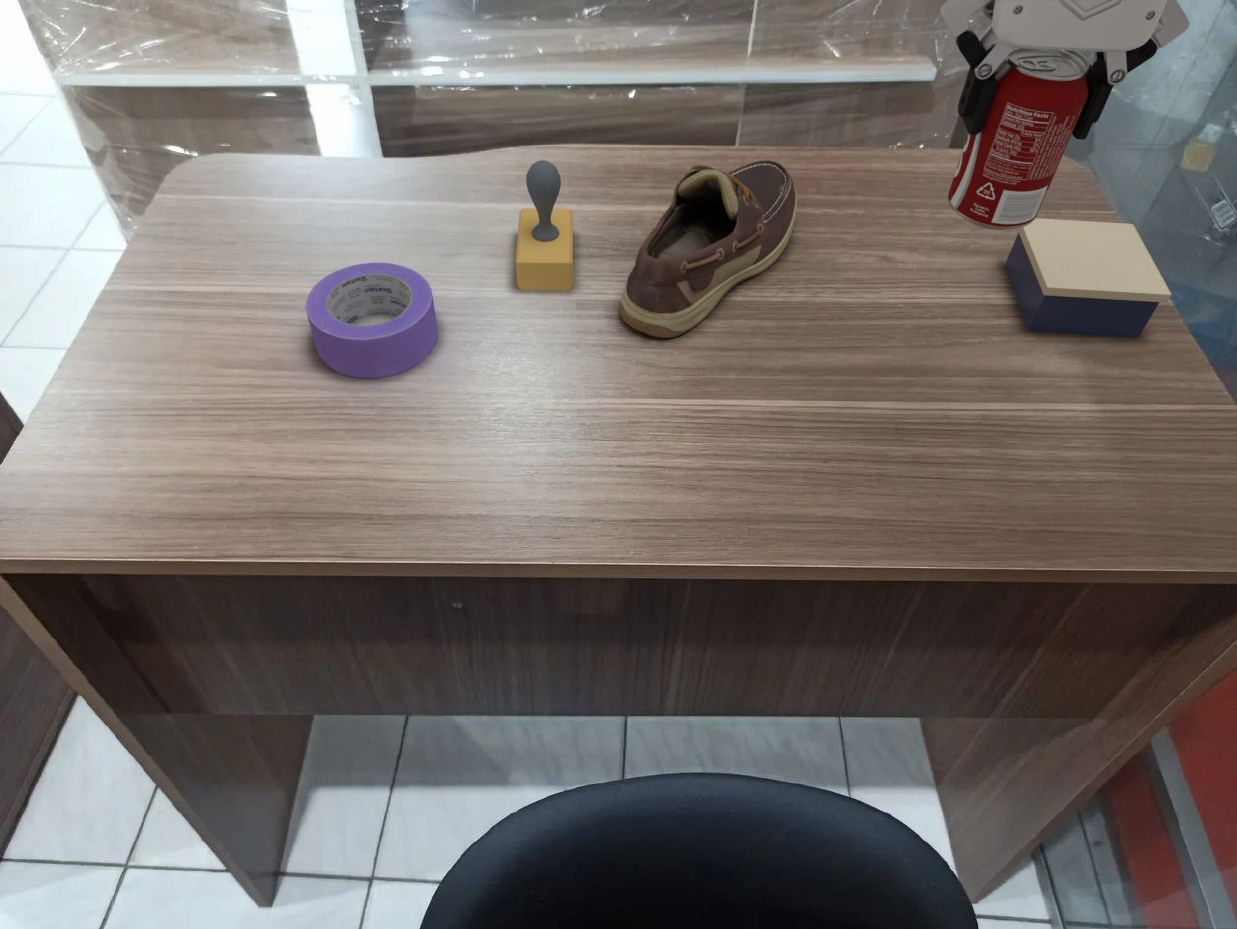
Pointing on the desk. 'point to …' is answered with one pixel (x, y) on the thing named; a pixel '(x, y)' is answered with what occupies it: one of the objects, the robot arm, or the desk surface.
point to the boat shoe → (708, 245)
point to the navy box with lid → (1084, 278)
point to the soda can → (1020, 138)
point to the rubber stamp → (544, 234)
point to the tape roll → (377, 344)
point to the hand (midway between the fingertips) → (1022, 125)
